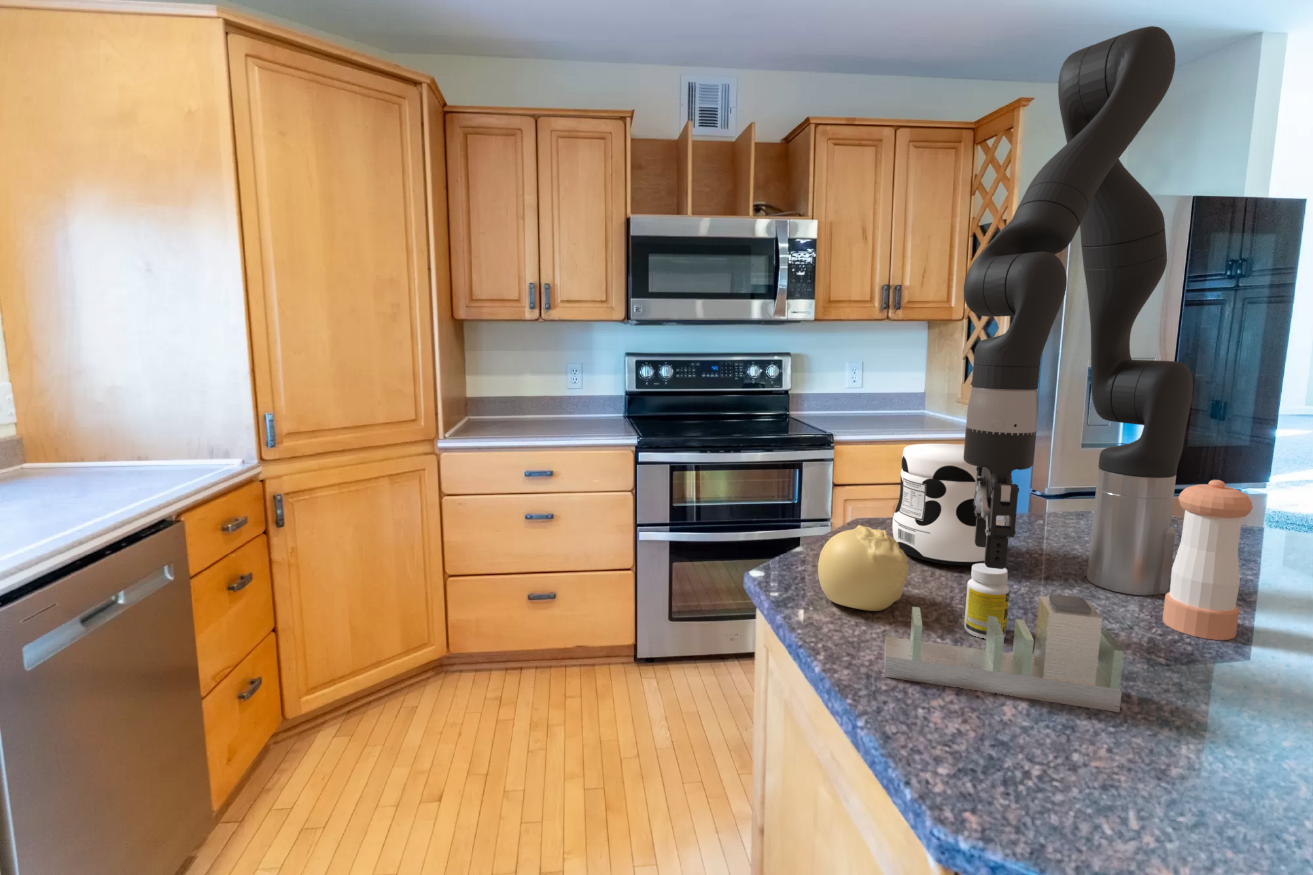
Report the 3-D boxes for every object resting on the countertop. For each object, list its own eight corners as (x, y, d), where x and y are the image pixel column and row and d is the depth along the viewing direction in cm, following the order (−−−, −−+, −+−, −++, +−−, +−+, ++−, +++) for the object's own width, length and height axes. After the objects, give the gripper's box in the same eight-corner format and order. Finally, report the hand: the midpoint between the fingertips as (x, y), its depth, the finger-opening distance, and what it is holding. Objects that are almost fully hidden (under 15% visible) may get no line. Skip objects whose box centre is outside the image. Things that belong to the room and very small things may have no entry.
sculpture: (914, 623, 86) (919, 543, 84) (819, 616, 88) (822, 538, 86) (898, 589, 97) (902, 518, 95) (814, 584, 99) (817, 514, 97)
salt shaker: (1218, 645, 80) (1239, 489, 77) (1150, 622, 86) (1167, 477, 83) (1247, 632, 83) (1268, 483, 80) (1180, 611, 89) (1197, 472, 86)
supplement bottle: (1011, 642, 80) (1016, 576, 79) (969, 639, 81) (974, 573, 80) (999, 625, 85) (1004, 563, 84) (959, 622, 86) (964, 560, 85)
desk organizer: (1103, 687, 70) (1113, 597, 69) (1119, 712, 65) (1130, 616, 64) (884, 655, 77) (888, 573, 76) (884, 676, 72) (889, 589, 71)
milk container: (1007, 550, 114) (1016, 447, 112) (996, 581, 100) (1006, 465, 97) (903, 534, 124) (908, 439, 121) (879, 561, 109) (885, 453, 106)
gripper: (1050, 435, 71) (1036, 580, 74) (1023, 421, 85) (1012, 543, 87) (974, 432, 74) (962, 571, 76) (959, 418, 87) (950, 537, 89)
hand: (988, 556), depth 81 cm, fingers open, 8 cm apart
